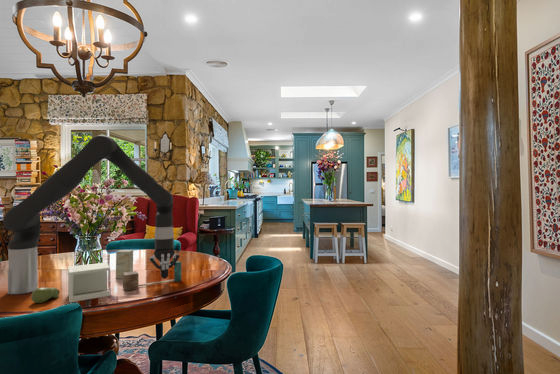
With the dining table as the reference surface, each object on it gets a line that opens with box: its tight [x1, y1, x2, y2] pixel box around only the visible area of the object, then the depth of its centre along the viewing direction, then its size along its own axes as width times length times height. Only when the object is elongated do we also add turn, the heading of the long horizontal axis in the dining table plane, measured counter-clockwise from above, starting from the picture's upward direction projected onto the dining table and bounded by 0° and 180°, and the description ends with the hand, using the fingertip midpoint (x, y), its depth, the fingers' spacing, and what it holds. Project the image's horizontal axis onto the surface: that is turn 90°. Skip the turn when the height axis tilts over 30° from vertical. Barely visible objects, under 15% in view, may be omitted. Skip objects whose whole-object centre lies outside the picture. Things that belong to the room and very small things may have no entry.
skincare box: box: [115, 249, 134, 279], centre depth 156 cm, size 6×4×12 cm
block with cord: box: [122, 260, 182, 291], centre depth 143 cm, size 23×5×8 cm, turn 123°
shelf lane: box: [67, 261, 111, 303], centre depth 130 cm, size 13×11×11 cm
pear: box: [30, 287, 61, 304], centre depth 124 cm, size 6×5×10 cm
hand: (164, 278), depth 145 cm, fingers closed
